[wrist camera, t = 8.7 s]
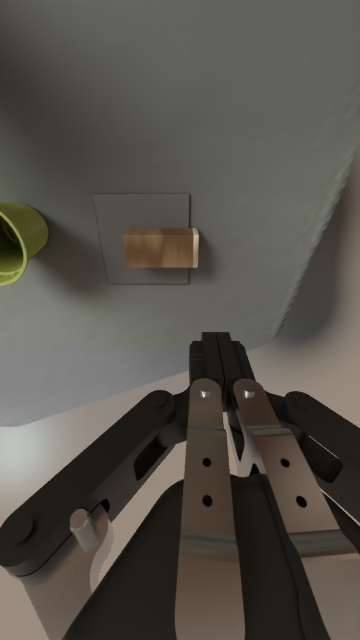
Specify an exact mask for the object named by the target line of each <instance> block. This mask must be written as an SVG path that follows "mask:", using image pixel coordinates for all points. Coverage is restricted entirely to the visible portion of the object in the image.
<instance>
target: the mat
mask: <svg viewBox="0 0 360 640" xmlns="http://www.w3.org/2000/svg"><path fill="white" fill-rule="evenodd" d="M93 200H94V205H95V211H96V217H97V223H98V228H99V234H100V240H101V245H102V251H103V257H104V262H105V268H106V274H107V279H108V284H188V268H167V267H127V264H126V256H125V248H124V240H123V234H124V233H125V232H126V231H127V230H128V229H129V228H189V194H93Z"/></svg>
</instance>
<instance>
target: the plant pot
mask: <svg viewBox="0 0 360 640" xmlns="http://www.w3.org/2000/svg"><path fill="white" fill-rule="evenodd" d="M8 228H9V229H10V230H11V232H12V233H13V235H14V236H15V238H13V237H12V236H11V235H10V233H9V231H8ZM47 239H48V227H47V224H46V222H45V220H44V219H43V217H42V216H41V215H40V214H39V212H37V211H36V210H35V209H34V208H32V207H30V206H28V205H25V204H23V203H18V202H0V286H3V285H8V284H11V283H13V282H15V281H17V280H18V279H19V278H20V277H21V276H22V275H23V273H24V272H25V270H26V267H27V263H28V261H29V260H30V259H31V258H32V257H33V256H34V255H35V254H36V253H38V252H39V251H40V250H41V249H42V248H43V247H44V246H45V245H46V243H47Z"/></svg>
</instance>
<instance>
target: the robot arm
mask: <svg viewBox="0 0 360 640" xmlns="http://www.w3.org/2000/svg"><path fill="white" fill-rule="evenodd" d="M189 378H190V386H189V387H188V388H187V389H186V390H185V391H184V392H182V393H179V394H176V395H172V394H171V393H169V392H168V391H164V390H156V391H153V392H151V393H149V394H148V395H147V396H145V397H144V398H143V399H142V400H141V401H140V402H139V403H137V405H135V406H134V407H133V408H132V409H131V410H130V411H128V412H127V413H126V414H125V415H124V416H123V417H122V418H120V419H119V420H118V421H117V422H116V423H115V424H114V425H112V426H111V427H110V428H109V429H108V430H107V431H106V432H104V433H103V434H102V435H101V436H100V437H99V438H97V439H96V440H95V441H94V442H93V443H92V444H91V445H90V446H88V447H87V448H86V449H85V450H84V451H83V452H81V453H80V454H79V455H78V456H77V457H76V458H75V459H74V460H72V461H71V462H70V463H69V464H68V465H67V466H65V467H64V468H63V469H62V470H61V471H60V472H59V473H58V474H56V475H55V476H54V477H53V478H52V479H51V480H50V481H48V482H47V483H46V484H45V485H44V486H43V487H42V488H40V489H39V490H38V491H37V492H36V493H35V494H34V495H32V496H31V497H30V498H29V499H28V500H27V501H26V502H25V503H24V504H22V505H21V506H20V507H19V508H18V509H16V510H15V511H14V512H13V513H12V514H11V515H10V516H9V517H8V518H7V519H6V520H5V522H4V523H3V525H2V526H1V528H0V565H1V566H2V567H4V568H5V569H6V570H7V572H8V573H9V574H10V575H11V576H12V577H14V578H15V579H16V580H18V581H19V582H21V583H22V584H23V585H24V587H25V589H26V591H27V594H28V596H29V598H30V600H31V602H32V604H33V606H34V608H35V610H36V612H37V615H38V617H39V619H40V621H41V623H42V625H43V627H44V629H45V631H46V634H47V636H48V638H49V640H360V526H359V525H358V524H357V523H356V522H355V521H354V520H352V518H350V517H349V516H348V515H347V514H346V513H345V512H344V511H343V510H342V509H341V508H340V507H339V506H338V505H337V504H336V503H334V502H333V501H332V500H331V499H330V498H329V497H328V496H327V495H325V494H324V493H323V492H321V490H320V488H321V489H322V490H323V491H325V492H326V493H327V494H328V495H329V496H330V497H331V498H332V499H334V500H335V501H336V502H337V503H338V504H339V505H340V506H341V507H343V508H344V509H345V510H346V511H347V512H348V513H349V514H350V515H351V516H353V517H354V518H355V519H356V520H357V521H358V522H359V523H360V428H359V427H357V426H356V425H354V424H352V423H351V422H349V421H348V420H346V419H345V418H343V417H342V416H340V415H339V414H337V413H336V412H334V411H333V410H331V409H329V408H328V407H326V406H325V405H323V404H322V403H320V402H319V401H317V400H316V399H314V398H313V397H311V396H309V395H308V394H305V393H303V392H298V391H292V392H289V393H287V394H286V396H285V397H282V396H278V395H275V394H271V393H268V392H266V391H265V390H264V389H263V387H262V386H261V385H260V384H259V383H258V382H256V380H255V377H254V374H253V371H252V369H251V366H250V363H249V360H248V357H247V355H246V351H245V348H244V346H243V345H242V344H241V343H240V342H239V341H231V337H230V334H229V332H202V337H201V341H193V342H192V344H191V345H190V350H189ZM223 412H227V416H228V422H227V428H228V432H229V437H230V440H231V444H232V448H233V452H234V456H235V460H236V464H237V472H238V476H235V475H232V474H230V468H229V456H228V445H227V434H226V430H225V429H224V424H223ZM309 436H311V437H312V438H313V439H314V440H316V441H317V442H318V443H320V444H321V445H322V446H324V447H325V448H326V449H327V450H329V451H330V452H331V453H333V454H334V455H335V456H336V457H338V458H339V459H338V458H336V457H335V456H334V455H333V454H331V453H330V452H329V451H327V450H326V449H325V448H323V447H322V446H321V445H320V444H318V443H317V442H316V441H314V440H313V439H312V438H310V437H309ZM186 440H187V441H186ZM183 441H186V457H185V473H184V479H183V480H180V481H178V482H176V483H175V484H173V485H172V486H170V487H169V488H168V489H167V490H166V491H165V492H164V493H163V494H162V495H161V496H160V498H159V499H158V500H157V502H156V503H155V505H154V506H153V507H152V509H151V510H150V512H149V513H148V515H147V516H146V517H145V519H144V520H143V522H142V523H141V525H140V526H139V527H138V529H137V530H136V532H135V533H134V535H133V536H132V538H131V539H130V540H129V542H128V543H127V545H126V547H125V548H124V549H123V550H122V552H121V553H120V555H119V556H118V558H117V559H116V561H115V562H114V563H113V565H112V566H111V568H110V569H109V571H108V572H107V573H106V575H105V576H104V578H103V579H102V581H101V582H100V583H99V585H98V586H97V581H98V576H99V572H100V569H101V566H102V564H103V562H104V561H105V559H106V557H107V556H108V554H109V552H110V550H111V547H112V543H113V536H114V535H113V528H112V525H111V522H112V521H113V520H114V519H115V518H116V516H117V515H118V514H119V513H120V512H121V511H122V509H123V508H124V507H125V506H126V504H127V503H128V502H129V501H130V500H131V499H132V497H133V496H134V495H135V494H136V492H137V491H138V490H139V489H140V488H141V486H142V485H143V484H144V483H145V482H146V480H147V479H148V478H149V477H150V476H151V474H152V473H153V472H154V471H155V470H156V468H157V467H158V466H159V465H160V464H161V462H162V461H163V460H164V459H165V458H166V456H167V455H168V454H169V453H170V452H171V450H172V449H173V448H174V446H175V444H178V443H181V442H183ZM319 487H320V488H319Z"/></svg>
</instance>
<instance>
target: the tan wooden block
mask: <svg viewBox="0 0 360 640" xmlns="http://www.w3.org/2000/svg"><path fill="white" fill-rule="evenodd" d="M123 240H124V248H125V256H126V264H127V267H167V268H198V243H199V234H198V229H197V228H129V229H128V230H127V231H126V232H125V233H124V234H123Z"/></svg>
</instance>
